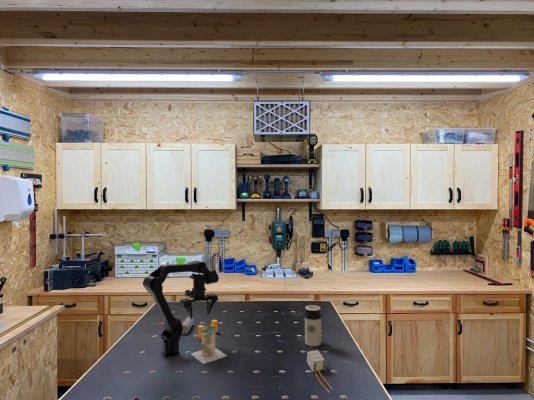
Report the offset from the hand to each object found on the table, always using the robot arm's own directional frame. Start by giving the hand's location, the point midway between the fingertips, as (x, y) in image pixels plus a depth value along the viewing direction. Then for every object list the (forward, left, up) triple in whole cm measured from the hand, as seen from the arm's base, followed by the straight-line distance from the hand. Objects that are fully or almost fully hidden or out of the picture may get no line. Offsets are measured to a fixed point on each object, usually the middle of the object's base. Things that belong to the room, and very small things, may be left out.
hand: (199, 317), depth 173 cm
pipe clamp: (+8, +5, -13) cm, 17 cm away
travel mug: (+44, -36, -13) cm, 58 cm away
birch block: (-3, -15, -12) cm, 20 cm away
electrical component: (+24, -61, -13) cm, 67 cm away
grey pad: (-3, -15, -13) cm, 20 cm away
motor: (-5, +26, -14) cm, 30 cm away
